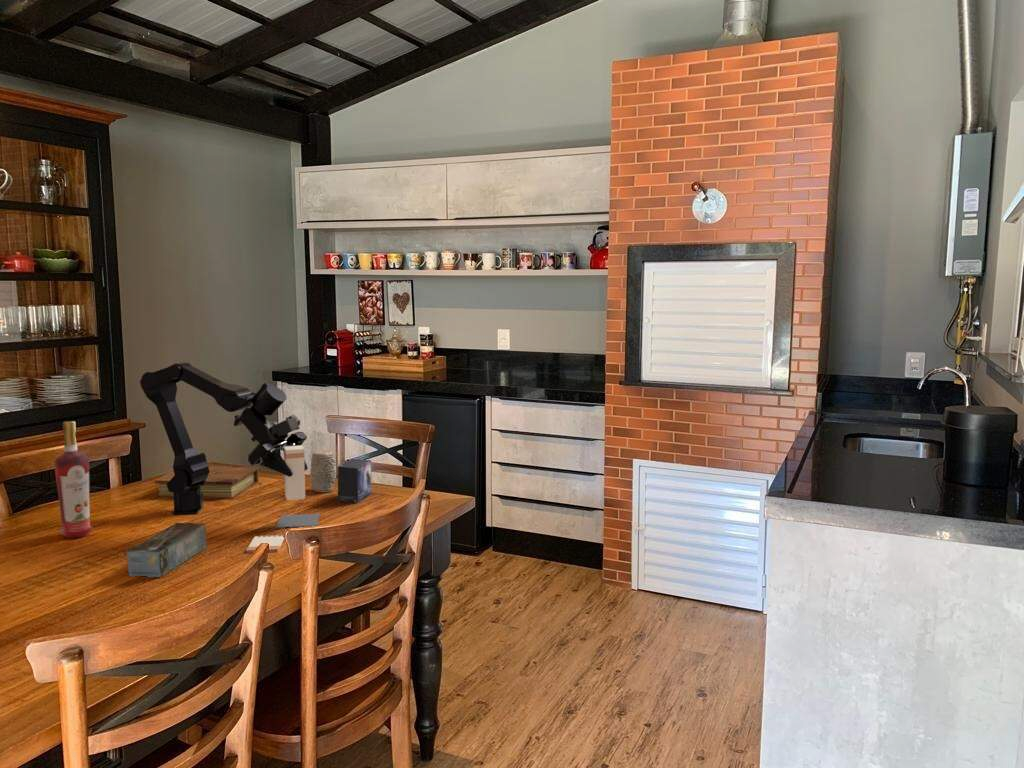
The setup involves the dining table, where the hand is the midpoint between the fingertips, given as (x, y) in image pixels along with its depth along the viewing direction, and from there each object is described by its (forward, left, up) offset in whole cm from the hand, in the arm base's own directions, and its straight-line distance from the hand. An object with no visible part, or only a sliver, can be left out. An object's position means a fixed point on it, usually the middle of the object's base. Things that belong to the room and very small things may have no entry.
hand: (299, 472), depth 195 cm
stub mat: (-1, +2, -13) cm, 14 cm away
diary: (-32, +37, -14) cm, 51 cm away
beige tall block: (-1, +1, -7) cm, 7 cm away
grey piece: (-25, -24, -14) cm, 38 cm away
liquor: (-53, -3, -14) cm, 55 cm away
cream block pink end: (-6, -16, -13) cm, 22 cm away
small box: (+12, +23, -14) cm, 29 cm away
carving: (+2, +32, -14) cm, 35 cm away
